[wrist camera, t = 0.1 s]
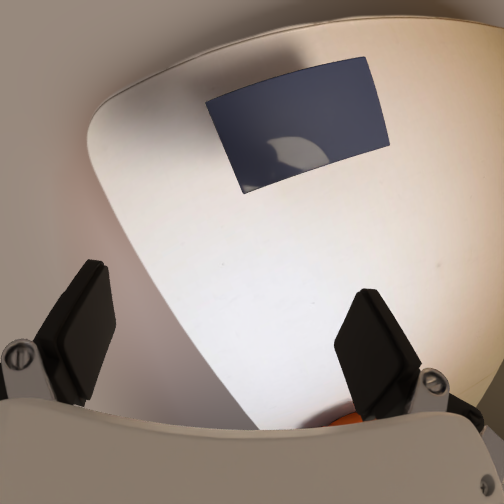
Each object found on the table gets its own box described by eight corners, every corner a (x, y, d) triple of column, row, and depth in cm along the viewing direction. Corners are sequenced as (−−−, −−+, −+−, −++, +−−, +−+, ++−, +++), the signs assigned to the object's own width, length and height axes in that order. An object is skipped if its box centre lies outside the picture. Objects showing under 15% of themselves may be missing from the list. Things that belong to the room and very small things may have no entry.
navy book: (241, 183, 19) (243, 194, 17) (208, 102, 16) (204, 102, 14) (373, 139, 18) (390, 145, 16) (350, 60, 15) (365, 56, 13)
